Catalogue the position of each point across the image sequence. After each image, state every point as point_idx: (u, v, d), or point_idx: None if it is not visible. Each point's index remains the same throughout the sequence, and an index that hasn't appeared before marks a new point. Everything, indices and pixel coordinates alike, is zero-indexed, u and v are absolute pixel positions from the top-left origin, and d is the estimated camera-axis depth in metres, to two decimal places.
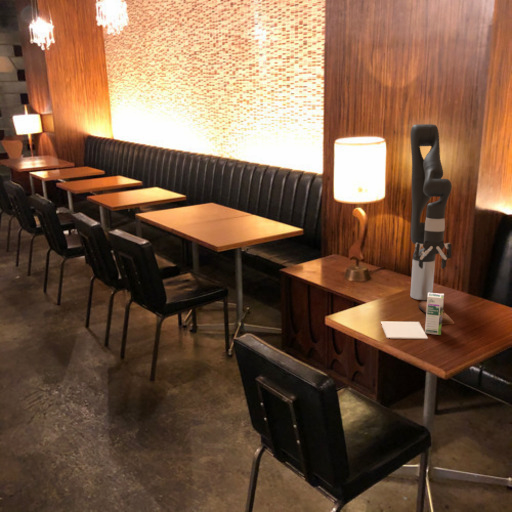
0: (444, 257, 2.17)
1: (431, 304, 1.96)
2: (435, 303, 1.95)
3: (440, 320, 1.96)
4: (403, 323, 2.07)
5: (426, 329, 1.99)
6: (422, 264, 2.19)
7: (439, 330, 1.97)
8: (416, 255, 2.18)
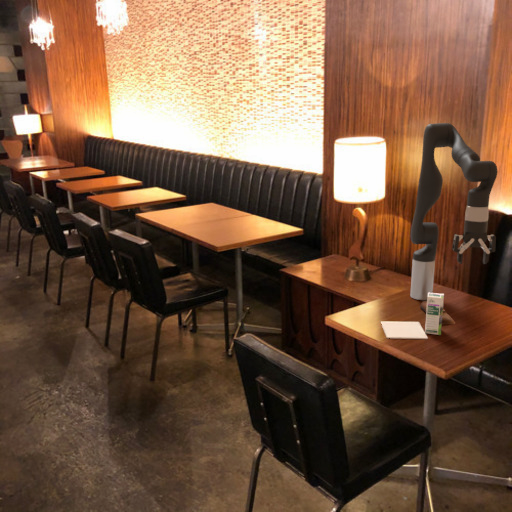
0: (487, 251, 1.90)
1: (431, 304, 1.96)
2: (435, 303, 1.95)
3: (440, 320, 1.96)
4: (403, 323, 2.07)
5: (426, 329, 1.99)
6: (461, 259, 1.92)
7: (439, 330, 1.97)
8: (455, 249, 1.91)
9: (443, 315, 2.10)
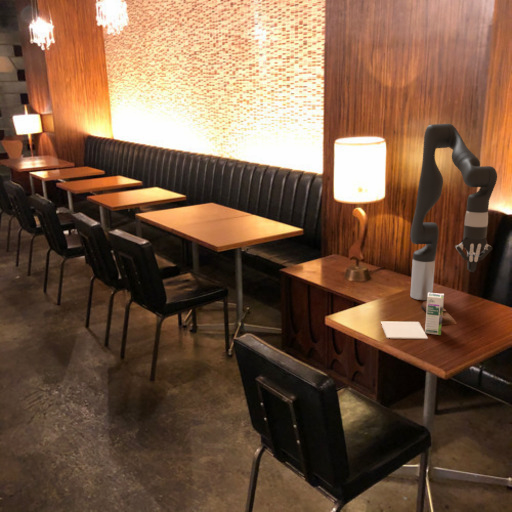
0: (475, 259, 1.91)
1: (431, 304, 1.96)
2: (435, 303, 1.95)
3: (440, 320, 1.96)
4: (403, 323, 2.07)
5: (426, 329, 1.99)
6: (472, 267, 1.92)
7: (439, 330, 1.97)
8: (464, 257, 1.92)
9: (444, 315, 2.10)
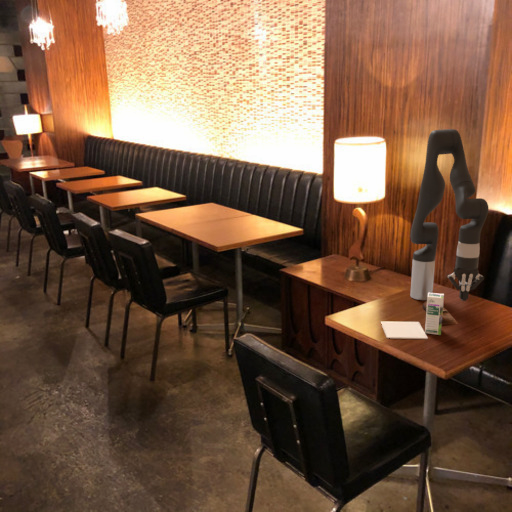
0: (466, 288, 1.94)
1: (431, 304, 1.96)
2: (435, 303, 1.95)
3: (440, 320, 1.96)
4: (403, 323, 2.07)
5: (426, 329, 1.99)
6: (464, 296, 1.95)
7: (439, 330, 1.97)
8: (456, 287, 1.95)
9: (445, 315, 2.10)
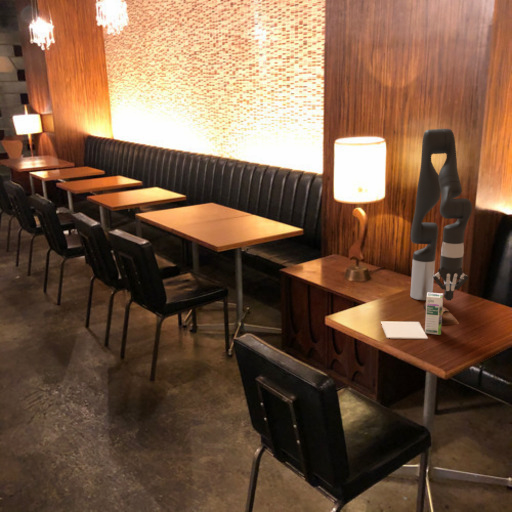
0: (451, 288, 1.95)
1: (430, 304, 1.96)
2: (434, 303, 1.95)
3: (440, 320, 1.96)
4: (403, 323, 2.07)
5: (426, 329, 1.99)
6: (448, 296, 1.96)
7: (439, 330, 1.97)
8: (441, 287, 1.95)
9: (446, 315, 2.10)
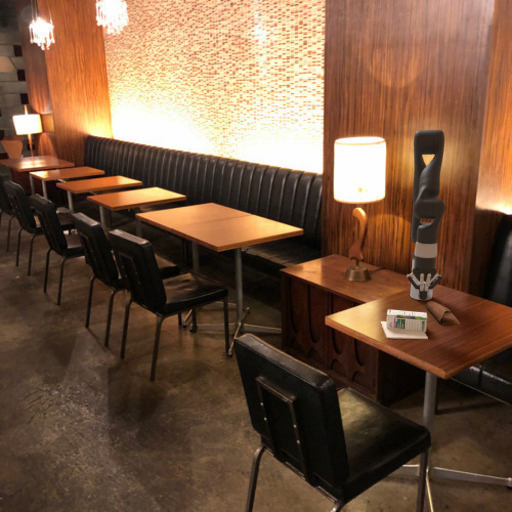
0: (425, 288, 1.95)
1: (394, 325, 2.02)
2: (392, 321, 2.02)
3: (410, 317, 1.99)
4: None
5: (421, 330, 1.99)
6: (422, 296, 1.96)
7: (421, 319, 1.98)
8: (415, 287, 1.96)
9: (447, 315, 2.10)
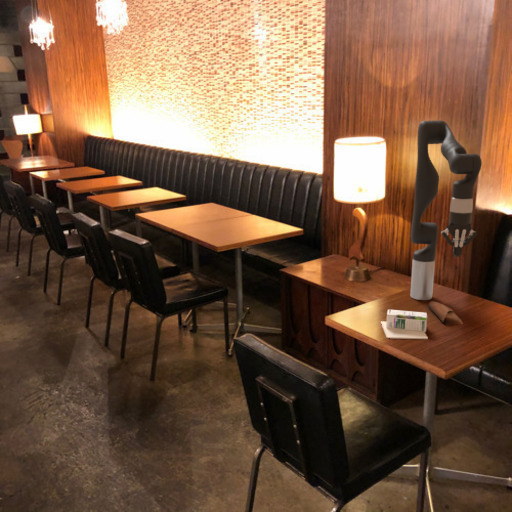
0: (460, 244, 1.97)
1: (394, 325, 2.02)
2: (392, 321, 2.02)
3: (410, 317, 1.99)
4: None
5: (421, 330, 1.99)
6: (457, 252, 1.98)
7: (421, 319, 1.98)
8: (450, 243, 1.97)
9: (451, 315, 2.10)
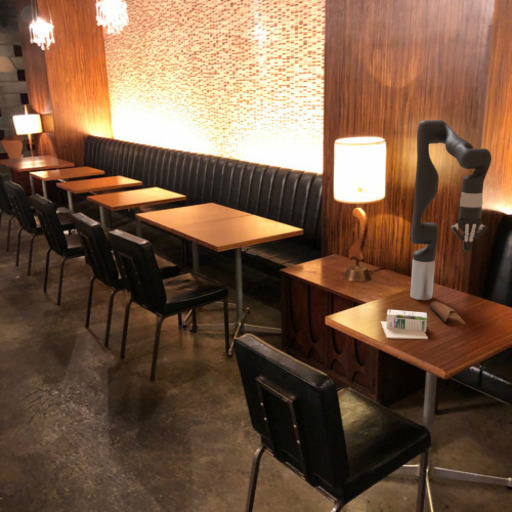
0: (470, 239, 1.98)
1: (394, 325, 2.02)
2: (392, 321, 2.02)
3: (410, 317, 1.99)
4: None
5: (421, 330, 1.99)
6: (467, 246, 1.99)
7: (421, 319, 1.98)
8: (460, 237, 1.98)
9: (453, 315, 2.10)
